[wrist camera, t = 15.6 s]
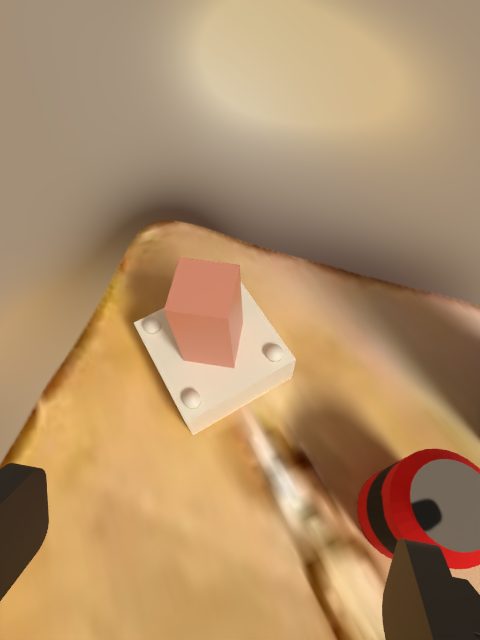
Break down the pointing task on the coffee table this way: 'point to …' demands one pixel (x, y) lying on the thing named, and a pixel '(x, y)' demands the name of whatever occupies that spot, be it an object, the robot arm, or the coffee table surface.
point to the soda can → (425, 506)
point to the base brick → (219, 367)
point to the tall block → (206, 311)
